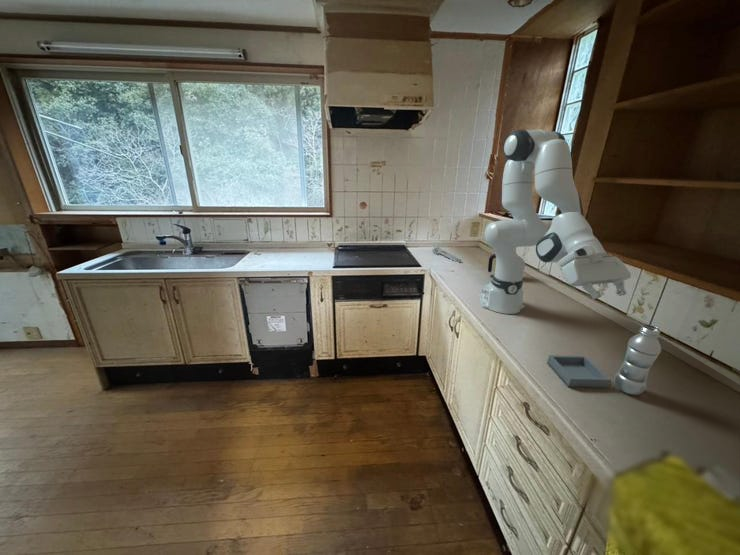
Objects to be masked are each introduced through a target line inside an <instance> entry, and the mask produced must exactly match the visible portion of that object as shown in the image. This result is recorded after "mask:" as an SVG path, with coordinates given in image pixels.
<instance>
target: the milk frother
mask: <svg viewBox="0 0 740 555" xmlns="http://www.w3.org/2000/svg"><path fill="white" fill-rule="evenodd" d="M494 259H496V255H495V253H493V254H491V255H490V257H488V265H487V272H488V273H492V270H493V261H494ZM493 276H494V275H493V274H491V275H490V276H489V277H490V278H491V279H492V278H493Z"/></svg>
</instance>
